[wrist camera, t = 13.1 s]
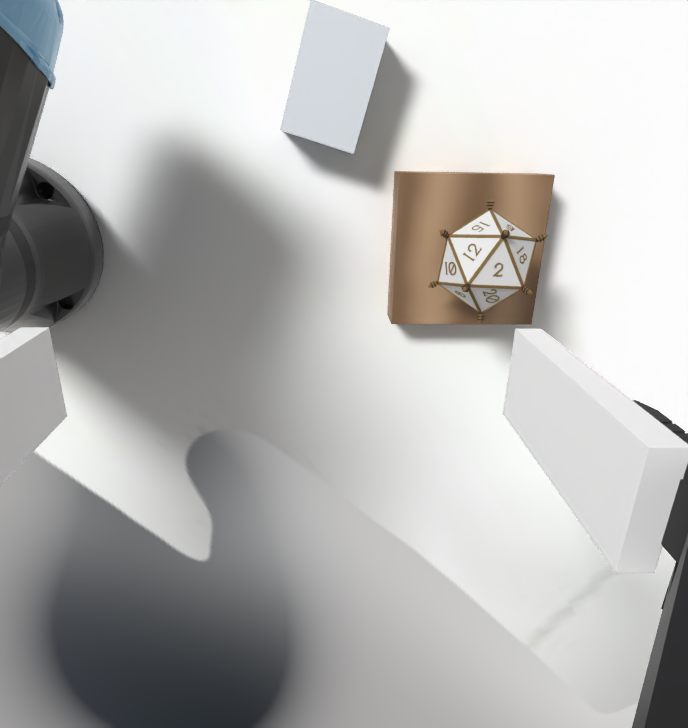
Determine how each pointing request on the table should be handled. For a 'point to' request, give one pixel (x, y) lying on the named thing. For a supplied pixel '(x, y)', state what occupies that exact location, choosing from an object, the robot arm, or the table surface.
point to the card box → (333, 77)
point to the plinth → (449, 212)
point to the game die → (486, 261)
